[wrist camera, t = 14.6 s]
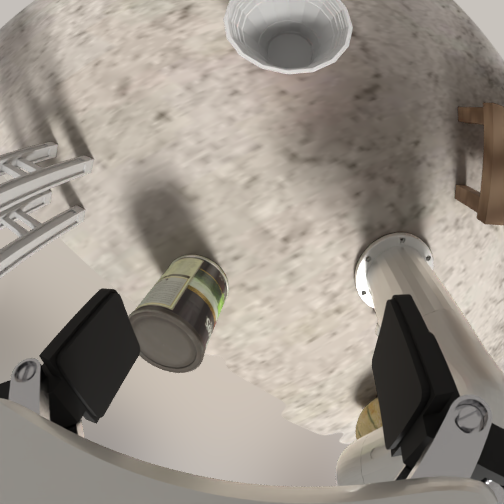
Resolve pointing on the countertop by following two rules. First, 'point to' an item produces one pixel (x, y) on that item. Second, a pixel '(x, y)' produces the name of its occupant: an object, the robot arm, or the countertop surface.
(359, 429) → the cantaloupe
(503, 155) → the walnut stool
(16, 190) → the stool
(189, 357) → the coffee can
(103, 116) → the countertop surface
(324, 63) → the plastic cup
